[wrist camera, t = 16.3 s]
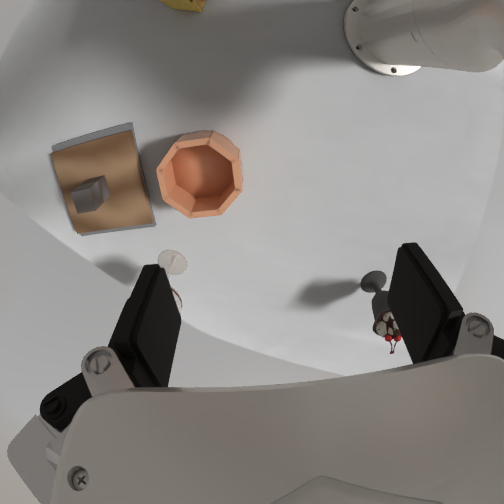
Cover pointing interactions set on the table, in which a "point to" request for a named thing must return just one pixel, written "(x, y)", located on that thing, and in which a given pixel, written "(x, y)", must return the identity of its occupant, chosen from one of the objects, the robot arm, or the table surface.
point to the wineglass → (173, 269)
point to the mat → (98, 135)
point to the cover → (103, 183)
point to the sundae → (381, 307)
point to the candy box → (186, 4)
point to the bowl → (201, 174)
